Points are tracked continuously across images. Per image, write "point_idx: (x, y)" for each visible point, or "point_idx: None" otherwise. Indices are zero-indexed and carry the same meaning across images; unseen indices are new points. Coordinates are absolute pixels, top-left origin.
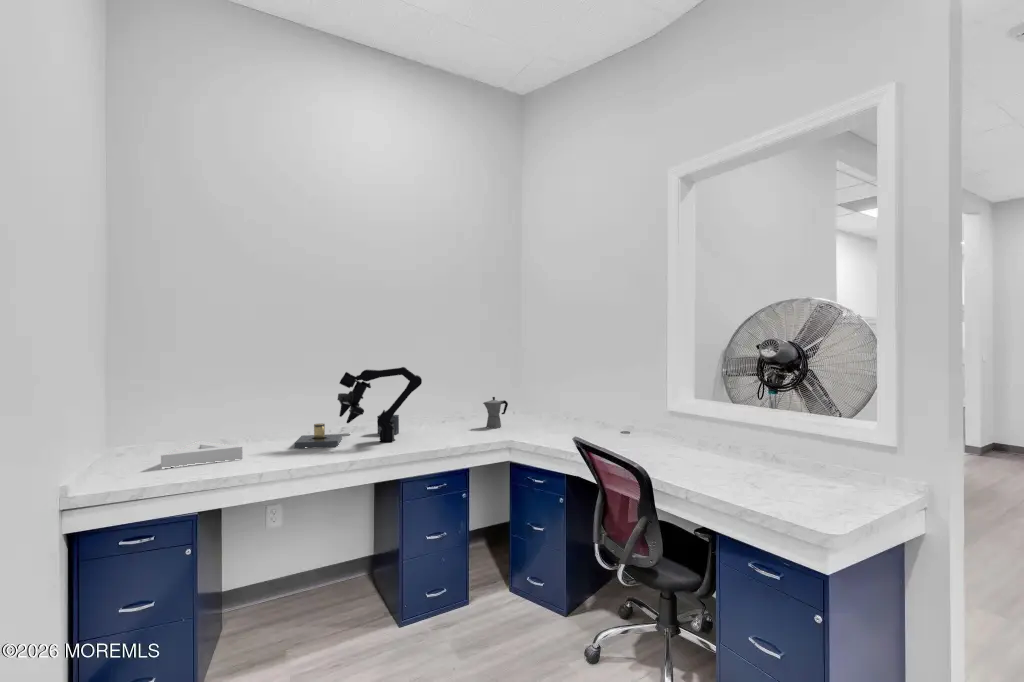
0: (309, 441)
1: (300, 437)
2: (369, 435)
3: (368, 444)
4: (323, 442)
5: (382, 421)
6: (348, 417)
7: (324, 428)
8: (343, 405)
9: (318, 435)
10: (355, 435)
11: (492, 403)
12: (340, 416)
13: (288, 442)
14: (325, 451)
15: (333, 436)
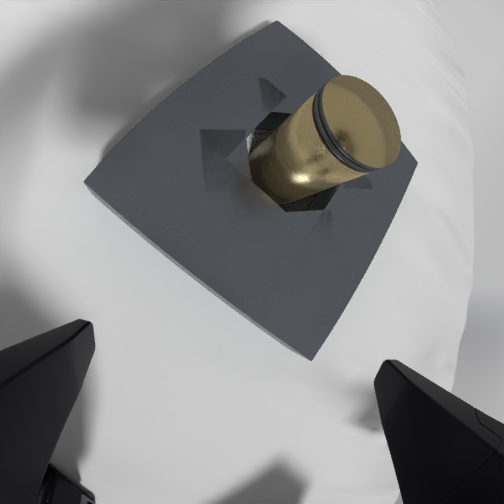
0: (238, 58)
1: None
2: (275, 498)
3: None
4: (160, 106)
5: None
6: (18, 361)
7: (314, 158)
8: (502, 485)
9: (282, 123)
10: (333, 447)
11: None
12: (380, 372)
13: (403, 125)
14: (57, 80)
15: (277, 264)
